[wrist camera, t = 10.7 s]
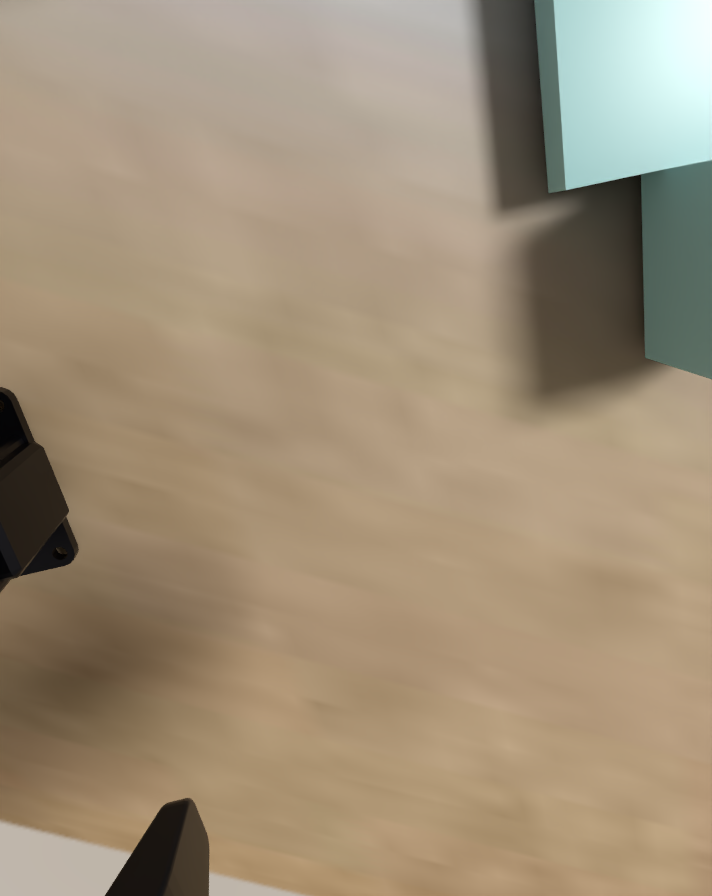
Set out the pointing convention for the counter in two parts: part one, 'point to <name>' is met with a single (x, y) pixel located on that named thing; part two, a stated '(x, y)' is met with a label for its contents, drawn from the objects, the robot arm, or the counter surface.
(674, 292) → the lid
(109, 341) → the counter surface
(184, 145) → the counter surface
